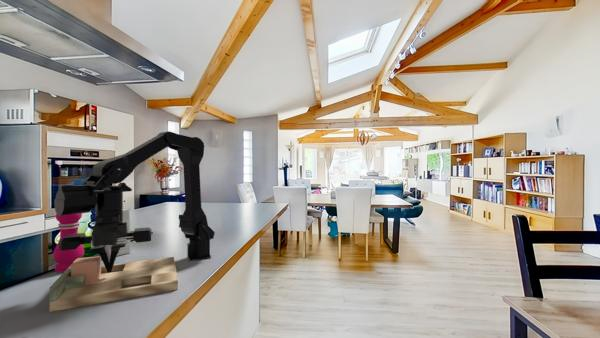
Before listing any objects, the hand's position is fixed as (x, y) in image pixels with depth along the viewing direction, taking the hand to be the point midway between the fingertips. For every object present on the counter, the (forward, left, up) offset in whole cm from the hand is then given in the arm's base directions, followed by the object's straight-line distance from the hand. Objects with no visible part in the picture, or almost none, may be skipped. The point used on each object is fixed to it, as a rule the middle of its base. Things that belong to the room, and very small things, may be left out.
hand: (109, 272), depth 71 cm
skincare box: (+3, -32, -3) cm, 32 cm away
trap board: (-3, 0, -3) cm, 5 cm away
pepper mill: (+13, -20, -3) cm, 24 cm away
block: (+5, 0, -1) cm, 5 cm away
